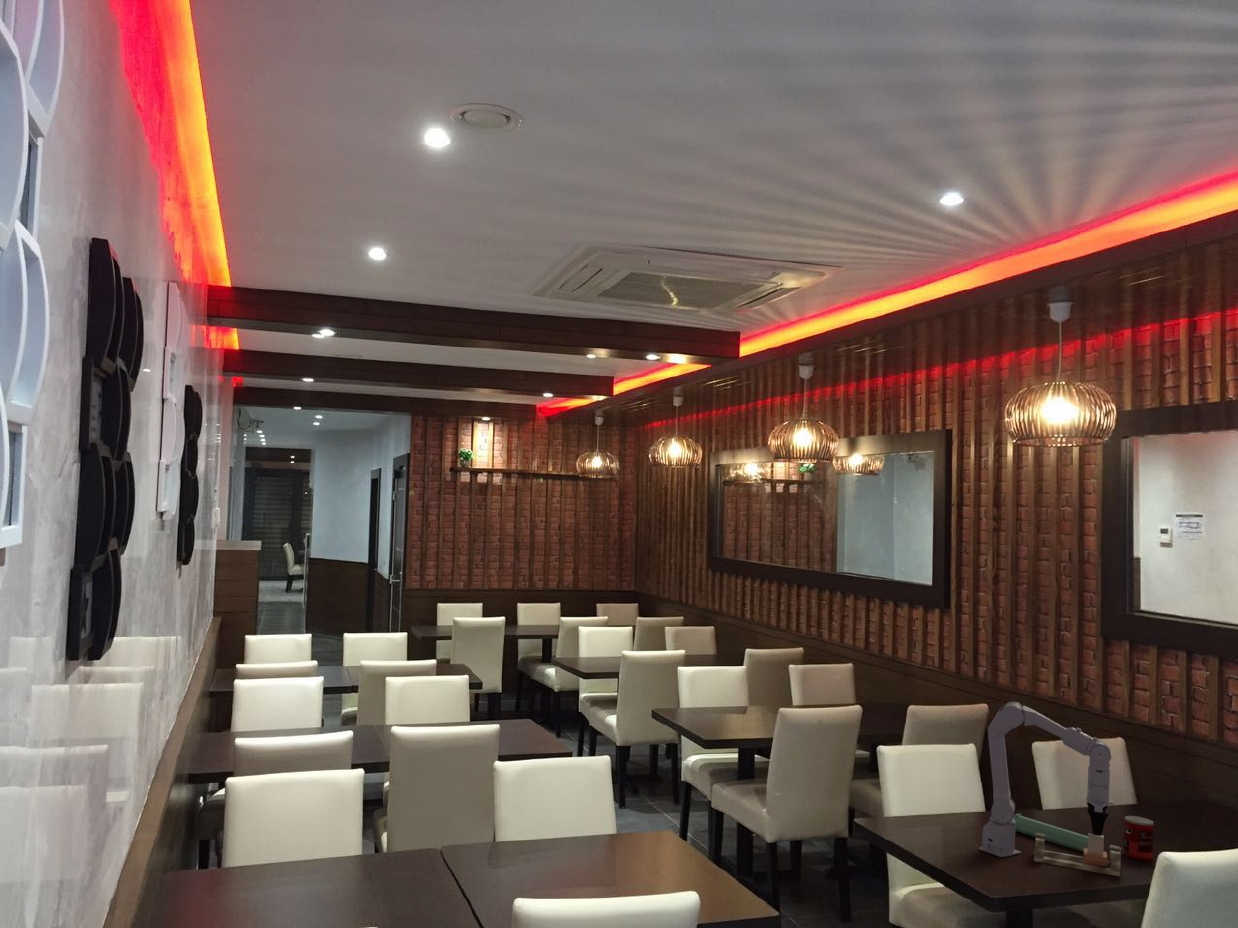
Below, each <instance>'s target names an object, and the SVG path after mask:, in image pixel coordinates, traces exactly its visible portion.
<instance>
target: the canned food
mask: <svg viewBox="0 0 1238 928" xmlns="http://www.w3.org/2000/svg"><path fill="white" fill-rule="evenodd" d="M1123 822H1124V823H1123V824H1124V826H1123V854H1124V855H1125V856H1126V857H1128V858H1131V859H1133V860H1134V859H1135V860H1139V861H1151V860H1152V858H1153V857H1154V856H1153V853H1154V828H1155V827H1154V825H1155V824H1154V821H1153V820H1151V819H1149V818H1146V817H1142V816H1137V815H1126V816H1124V821H1123Z"/></svg>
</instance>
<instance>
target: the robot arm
mask: <svg viewBox="0 0 1238 928" xmlns="http://www.w3.org/2000/svg"><path fill="white" fill-rule="evenodd" d="M1023 723H1024V724H1023ZM1022 724H1023V725H1024V726H1035V727H1036V726H1037V727H1038V728H1040V729H1042V730H1044V731H1046V732H1048V733H1050V734H1052V735H1054V736H1057V737H1058V738H1060V740H1061V741H1062V743H1063V745H1064V746H1066V747H1068V748H1070V749H1071V750H1074V751H1075V752H1077V753H1079V754H1081V755H1083V756H1084V757H1085V756H1088V757H1089V762H1088V763H1089V764H1088V765H1089V766H1088V769H1087V793H1086V799H1085V801H1086V805H1087V809H1086V811H1087V813H1088V815H1089V819H1090V821H1091V830H1092V834H1093V835H1098V836H1101V835H1103V832H1104V827H1105V823H1106V820H1107V819H1108V817H1109V815H1110V812H1109V811H1108V812H1106V810H1107V809H1108V807H1109V806H1110V805H1112V806H1113V805H1114V801H1113V800H1110V783H1111V782H1110V777H1111V775H1110V773H1111V770H1110V767H1111V765H1110V764H1111V763H1110V762H1111V760H1112V753H1111V748H1110V747H1109V746H1108V744H1107V743H1106V742H1104V741H1103V740H1100V739H1098V738H1097V737H1095V736H1094V737H1092V736H1091V735H1089V734H1087V733H1084V732H1083V731H1082V729H1081V728H1079V727H1076V728H1075V727H1064V726H1062V724H1061V725H1060V724H1059V723H1057V722H1055V721H1054V720H1052V719H1050V718H1049V717H1047V716H1045V715H1043V714H1042V713H1039V712H1038V711H1037V710H1035V709H1033V708H1030V707H1029V706H1025V705H1022V704H1021V703H1020V702H1017V701H1008V702H1007V703H1005V704H1004V705H1003V706H1001V707H1000V708H999V710H998V712H997V713H996V715H995V716H994V717H993V719H992V721H991V723H990V724H989V725H988V728H987V737H988V748H989V757H990V758H989V759H990V769H991V777H992V779H991V780H992V791H993V792H992V793H993V794H992V795H993V802H992V807H991V815H990V818H989V821H988V822H987V823H986V824H984V825H983V828H982V835H981V836H982V837H981V846H980V847H979V850H980V851H983V852H986V853H988V854H992V855H994V856H997V857H1000V858H1004V857H1005V858H1006V857H1010V856H1015V855H1020V854H1021V853H1022V851H1020V850H1018V849H1015V847H1016V832H1015V826H1016V821H1015V820H1014V819H1013V817H1014V815H1015V810H1016V804H1015V802H1014V799H1012V796H1011V789H1010V781H1009V769H1008V758H1007V750H1006V749H1007V747H1006V739H1005V735H1007V734H1008V733H1009V732H1010V731H1011V730H1012V729H1016V728H1017V727H1019V726H1020V725H1022Z"/></svg>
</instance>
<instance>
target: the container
mask: <svg viewBox="0 0 1238 928" xmlns="http://www.w3.org/2000/svg"><path fill="white" fill-rule="evenodd" d="M1013 819H1014V820H1015V821H1016V826H1015V833H1018V832H1019V833H1022V834H1025V835H1027V836H1031V837H1035V834H1036V833H1041V834H1045V835H1046V838H1045V841H1047V842H1051V843H1054V844H1057V845H1059V846H1062V847H1067V848H1069V849H1072V850H1075V851H1080V852H1083V853H1084V848H1086V849H1088V835H1085V834H1081V833H1080V832H1079V833H1078V832H1075V831H1072V830H1069V829H1065V828H1062V827H1059V826H1055V825H1052V824H1048V823H1046V822H1042V821H1039V820H1036V819H1032V818H1030V817H1026V816H1023V815H1022V813H1016V814H1015V813H1014V817H1013ZM1035 838H1036V837H1035Z"/></svg>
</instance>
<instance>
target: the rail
mask: <svg viewBox="0 0 1238 928" xmlns="http://www.w3.org/2000/svg"><path fill="white" fill-rule="evenodd" d="M1045 838H1046V835H1045V834H1041V833H1036V834H1035V849H1034V853H1033V862H1036V863H1043V864H1048V865H1053V866H1054V865H1055V866H1060V867H1065V868H1071V869H1076V870H1083V871H1087V872H1094V873H1099V874H1105V875H1109V876H1116V877H1121V863H1122V862H1121V861H1122V860H1121V857H1122V856H1121V852H1122V850H1123V848H1122V847H1120V846H1117V845H1113V844H1110V845H1109V846H1108V847H1109V860H1107V867H1106V866H1101V865H1095V864H1089V863H1084V856H1080V855H1074V854H1069V853H1068V854H1067V853H1062V852H1059V851H1051V850H1047V849H1045V841H1046V840H1045Z"/></svg>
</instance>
